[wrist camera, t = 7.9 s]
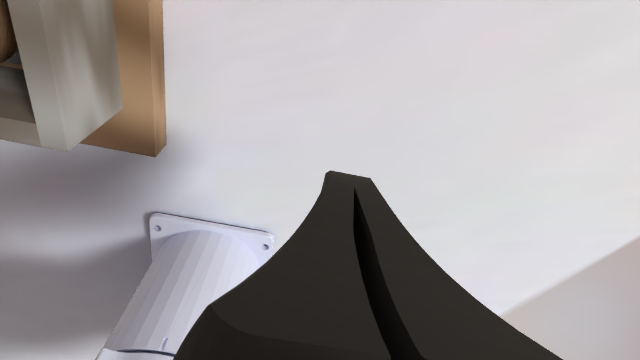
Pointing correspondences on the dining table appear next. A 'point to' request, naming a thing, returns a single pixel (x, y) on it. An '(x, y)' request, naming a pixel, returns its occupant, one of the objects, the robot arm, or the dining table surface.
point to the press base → (86, 75)
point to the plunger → (7, 37)
